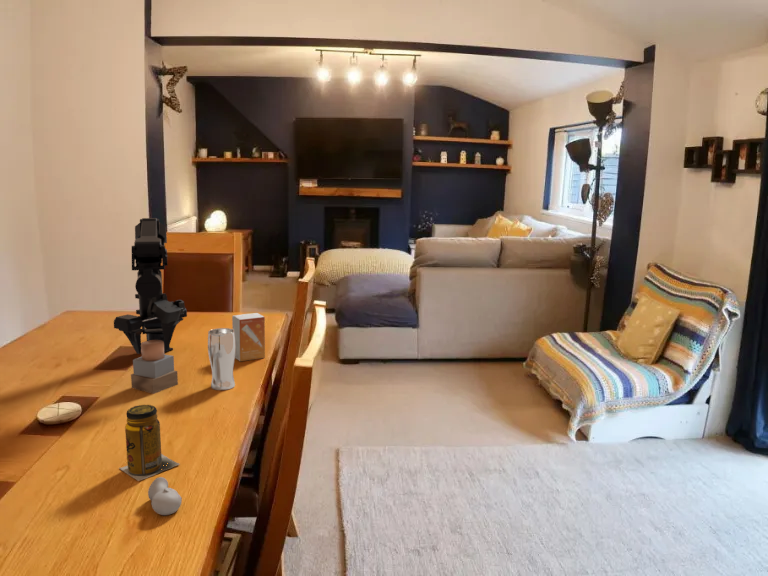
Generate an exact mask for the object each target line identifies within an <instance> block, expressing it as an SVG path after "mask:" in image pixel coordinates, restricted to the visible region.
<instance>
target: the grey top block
mask: <svg viewBox="0 0 768 576" xmlns="http://www.w3.org/2000/svg"><path fill="white" fill-rule="evenodd" d="M174 360H175V358H174V355H171V354H165V357H164V358H163V359H160V360H155V361H145V360H142V356H140V357H137V358H134V359H132V367H133V369H132V370H133V374H134V375H138V376H144V377H150V378H158V377H160V376H162V375H165V374H167V373H169V372H172V371H175V361H174Z"/></svg>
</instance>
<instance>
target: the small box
mask: <svg viewBox="0 0 768 576" xmlns="http://www.w3.org/2000/svg"><path fill="white" fill-rule="evenodd" d="M231 318H232V319H231V321H232V325H231V326H232V329H233V330H234V334H235V344H236V352H235V360H237V361H239V362H245V361H251V360H258V359H260V360H261V359H264V358H265V357H266V347H265V346H266V342H265V341H266V336H265V335H266V333H265V332H266V331H265V329H266V328H265V327H266V325H265V324H266V323H265V322H266V321H265V320H266V319H265V316H264V315H262V314H260V313H258V312H253V313H243V314H236V315H232V316H231Z"/></svg>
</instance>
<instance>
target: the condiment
mask: <svg viewBox="0 0 768 576" xmlns="http://www.w3.org/2000/svg"><path fill="white" fill-rule="evenodd" d="M157 411H158V409H157V407H155V406H154V405H151V404H138V405H134V406H132V407H130V408H129V409H127V410H126V424H125V427H124V431H125V443H126V444H125V445H126V447H125V448H126V460H127V461H126V463H127V465H125V466H123V467H122V466H121V467H119V469H120V470H121V471H122V472H124V473H125V474H127V475H128V476H130V477H131V478H133V479H135V480H136V481H137V482H139V481H142V480H145V479H147V478H150V477H153V476H155V475H158V474H160V473H162V472H164V471H167V470H169V469H172V468H174V467H176V466H180V463H179V462H176V461H175V460H172V459H170V458H169V457H168V456H166V455H164V454H163V453H162V440H161V423H160V420H159V419H158V413H157ZM167 463H168V464H167ZM163 465H164V466H163ZM166 465H167V466H166ZM161 469H162V470H161Z"/></svg>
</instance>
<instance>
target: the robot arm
mask: <svg viewBox="0 0 768 576" xmlns="http://www.w3.org/2000/svg"><path fill="white" fill-rule="evenodd" d="M167 234H168V233H167V226H166V225H165V224H163V223H162V222H160V219H159V218H157V217H143V218H140V219H139V223H138V224H136V225H135V226H134V243H133V244H134V245H131V271H137V276H136V277H137V279H136V281H135V286H134V287H135V291H136V292H137V293H135V294H134V298H135V299H137V300H138V307H139V308H138V309H136V310H135V314H136V315H133V314H123V315H120V316H116V317H115V318H114V319H113V329H117V330H118V331H120V332H123V334H124V335H125V337H126V338H127V340H128V341H129V343H130V345H131V346H132V348H133V350H134V351H135V352H136V354H138V355H142V351H141V343H142V338H141V337H142V335H146V341H149V340H161V341H164V353H167V352H170V351H173V350H174V348H173V347H170V345H171V342H172V338H173V335H174V332H175V329H176V327H177V325H178V324H179V323H180V322H182V321H183V320H184V318H186V317H187V316H188V311H187V308H186V305H185V301H184V300H182V299H177V300H175V301H169V300H168V296H167V293H163V277H162V273H163V272H162V271H163V270H166V267H168V249H167V248H166V246H165V245H166V244H167V243H168V237H167V236H168V235H167Z"/></svg>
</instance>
